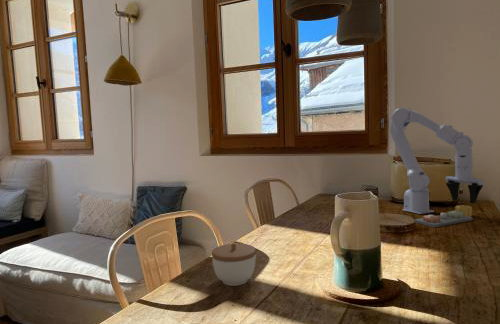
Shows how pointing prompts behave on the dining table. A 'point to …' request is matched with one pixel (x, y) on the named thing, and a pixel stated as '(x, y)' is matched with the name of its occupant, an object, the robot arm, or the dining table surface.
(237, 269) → the lidded jar
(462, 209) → the loose gear
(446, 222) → the gear board
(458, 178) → the robot arm
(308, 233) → the dining table surface
